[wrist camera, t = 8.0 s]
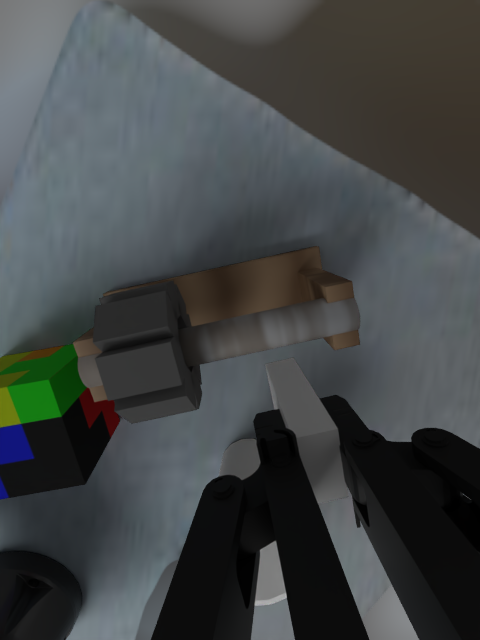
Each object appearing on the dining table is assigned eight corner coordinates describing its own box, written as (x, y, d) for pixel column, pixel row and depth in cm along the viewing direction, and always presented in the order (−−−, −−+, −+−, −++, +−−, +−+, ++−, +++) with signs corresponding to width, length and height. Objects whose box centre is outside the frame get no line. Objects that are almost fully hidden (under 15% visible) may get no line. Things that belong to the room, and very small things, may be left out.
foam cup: (217, 421, 39) (214, 511, 26) (293, 433, 40) (326, 525, 27) (203, 488, 41) (194, 600, 29) (275, 498, 42) (297, 611, 30)
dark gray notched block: (154, 389, 33) (123, 447, 23) (126, 288, 31) (77, 306, 21) (204, 378, 33) (194, 432, 23) (179, 277, 31) (156, 288, 21)
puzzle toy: (34, 436, 39) (-29, 504, 29) (3, 355, 36) (-77, 401, 26) (120, 421, 39) (85, 484, 29) (95, 339, 36) (48, 379, 26)
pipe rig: (132, 370, 37) (93, 430, 26) (107, 292, 35) (51, 320, 23) (327, 328, 37) (373, 370, 26) (315, 246, 34) (359, 253, 23)
